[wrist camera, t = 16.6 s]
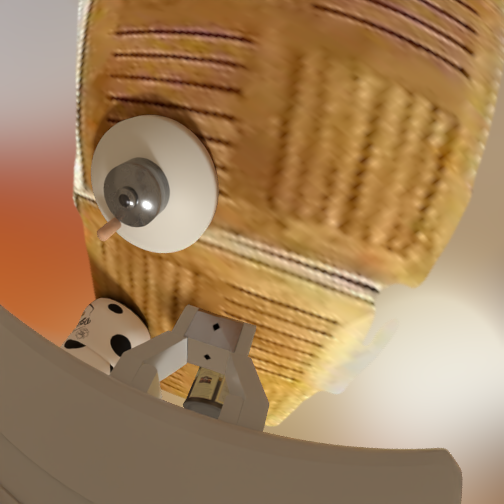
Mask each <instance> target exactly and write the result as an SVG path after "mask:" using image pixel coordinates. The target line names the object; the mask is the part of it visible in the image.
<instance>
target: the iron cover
mask: <svg viewBox="0 0 504 504" xmlns="http://www.w3.org/2000/svg"><path fill="white" fill-rule="evenodd" d="M104 197H105V201H106V204H107V206H108V208H109V210H110V211H111V213H112V214H113V215H114V216H115V217H116V218H117V219H118V220H119V221H120V222H122V223H124V224H125V225H128V226H131V227H143V226H146V225H147V224H149V223H150V222H151V221H152V220H153V219H154V218H155V217H157V216H158V215H159V214H160V213H161V212H162V211H163V210H164V209H165V208H166V206H167V204H168V201H169V197H170V188H169V183H168V180H167V178H166V176H165V174H164V172H163V171H162V169H161V168H160V167H159V166H158V165H157V164H155V163H154V162H153V161H151V160H149V159H146V158H141V157H136V158H132V159H130V160H128V161H126V162H124V163H122V164H120V165H118V166H116V167H115V168H113V169H112V170H111V171H110V172H109V173H108V174H107V176H106V178H105V181H104Z"/></svg>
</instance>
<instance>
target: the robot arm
mask: <svg viewBox="0 0 504 504" xmlns="http://www.w3.org/2000/svg"><path fill="white" fill-rule="evenodd" d="M255 330H256V326H255V325H252V324H248V323H244V322H242V321H239V320H235V319H232V318H228V317H225V316H221V315H218V314H215V313H212V312H209V311H206V310H203V309H201V308H197V307H195V306H192V305H189V304H188V305H187V306H186V307H185V309H184V310H183V312H182V314H181V316H180V317H179V319H178V321H177V323H176V324H175V326H174V328H173V330H172V332H171V331H166V332H164V333H162V334H160V335H158V336H156V337H154V338H152V339H150V340H148V341H146V342H144V343H142V344H140V345H138V346H136V347H134V348H132V349H130V350H128V351H125V352H123V354H122V356H121V357H120V359H119V360H118V362H117V364H116V365H115V367H114V368H113V370H112V372H111V373H110V375H107V374H105V373H104V372H102V371H100V370H98V369H96V368H94V367H92V366H91V365H89V364H87V363H85V362H83V361H82V360H80V359H78V358H76V357H75V356H73V355H71V354H70V353H68V352H66V351H65V350H63V349H62V348H60V347H58V346H56V345H55V344H54V343H52V342H51V341H49V340H47V339H46V338H45V337H43V336H42V335H40V334H39V333H37V332H36V331H34V330H33V329H32V328H30V327H29V326H27V325H26V324H25V323H23V322H22V321H20V320H19V319H18V318H17V317H15V316H14V315H13V314H11V313H10V312H9V311H7V310H6V309H5V308H4V307H2V306H1V305H0V504H461V498H462V472H461V469H460V467H459V465H458V464H457V462H456V461H455V459H454V458H453V457H452V455H451V454H450V452H449V451H448V450H447V449H444V448H431V449H380V448H364V447H351V446H342V445H333V444H325V443H318V442H312V441H306V440H300V439H294V438H289V437H284V436H279V435H274V434H270V433H266V432H263V428H264V425H265V420H266V416H267V412H268V408H269V402H268V399H267V397H266V395H265V392H264V390H263V387H262V385H261V382H260V380H259V377H258V375H257V372H256V369H255V367H254V364H253V362H252V359H251V358H249V357H248V354H249V351H250V347H251V344H252V340H253V337H254V334H255ZM187 362H188V363H191V364H194V365H197V366H200V367H203V368H206V369H209V370H212V371H215V372H218V373H221V374H224V375H225V379H226V383H227V387H228V390H229V395H227V396H226V398H225V401H224V404H223V406H222V409H221V412H220V415H219V417H218V419H214V418H211V417H208V416H205V415H202V414H199V413H196V412H193V411H191V410H188V409H185V408H182V407H180V406H177V405H174V404H172V403H169V402H167V401H164V400H161V398H162V394H161V389H160V383H159V382H160V381H161V380H163V379H164V378H166V377H167V376H169V375H170V374H172V373H173V372H175V371H176V370H178V369H179V368H181V367H182V366H184V365H185V364H187Z"/></svg>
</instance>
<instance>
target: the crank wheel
mask: <svg viewBox="0 0 504 504" xmlns="http://www.w3.org/2000/svg"><path fill="white" fill-rule="evenodd" d="M136 157H141V158H146V159H149V160H151V161H153V162H154V163H155V164H157V165H158V166H159V167H160V168H161V169H162V171H163V172H164V174H165V176H166V178H167V180H168V183H169V188H170V197H169V201H168V204H167V206H166V208H165V209H164V210H163V211H162V212H161V213H160V214H159V215H158V216H157V217H155V218H154V219H153V220H152V221H151V222H150V223H149V224H147V225H146V226H143V227H131V226H128V225H125V224H124V223H122V222H120V221H119V220H118V219H117V218H116V217H115V216H114V215H113V214H112V213H111V211H110V210H109V208H108V206H107V204H106V201H105V197H104V181H105V178H106V176H107V174H108V173H109V172H110V171H111V170H112V169H113V168H115V167H116V166H118V165H120V164H122V163H124V162H126V161H128V160H130V159H132V158H136ZM91 181H92V188H93V193H94V196H95V199H96V202H97V204H98V206H99V209H100V210H101V212H102V214H103V216H104V217H105V219H106V220H107V222H108V223H106V224H105V225H104V226H103V227H101V228H100V229H99V230H98V231H97V236H98V238H99V239H100V240H102V241H106V240H107V239H108V238H109V237H110V236H111V235H113V234H114V233H115V232H117V233H118V234H119V235H120V236H122V237H123V238H124V239H125V240H127V241H128V242H130V243H131V244H133V245H135V246H137V247H139V248H142V249H144V250H148V251H151V252H157V253H170V252H176V251H180V250H182V249H185V248H187V247H189V246H190V245H192V244H193V243H194V242H195V241H197V240H198V239H199V238H200V236H201V235H202V234H203V233H204V231H205V230H206V229H207V227H208V226H209V224H210V223H211V221H212V219H213V217H214V214H215V212H216V208H217V204H218V196H219V187H218V178H217V173H216V170H215V166H214V163H213V161H212V159H211V157H210V154H209V153H208V151H207V149H206V148H205V146H204V145H203V144H202V142H201V141H200V140H199V138H198V137H197V136H196V135H195V134H194V133H193V132H192V131H191V130H189V129H188V128H187V127H185V126H184V125H182V124H181V123H179V122H177V121H175V120H173V119H170V118H168V117H164V116H159V115H140V116H137V117H133V118H129V119H126V120H123V121H121V122H119V123H117V124H116V125H114V126H113V127H111V128H110V129H109V130H108V131H107V132H106V133H105V134H104V136H103V137H102V138H101V140H100V141H99V143H98V145H97V147H96V150H95V152H94V156H93V160H92V166H91Z"/></svg>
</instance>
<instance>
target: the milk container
mask: <svg viewBox="0 0 504 504" xmlns="http://www.w3.org/2000/svg"><path fill="white" fill-rule="evenodd" d="M148 340H150V333H149V331H148V328H147V326H146V325H145V323H144V322H143V321H142V319H141V318H140V317H139V316H138V315H137V314H136V313H135V312H134V311H133V310H132V309H131V308H129V307H127V306H126V305H124V304H123V303H121V302H119V301H116V300H114V299H111V298H99V299H96V300H95V301H93V302H92V303H91V304H89V305H88V306H87V308H86V309H85V310H84V312H83V314H82V316H81V319H80V321H79V323H78V325H77V327H76V328H75V329H74V330H73V332H72V333H71V334H70V335H69V336H68V338H67V340H66V341H65V342H64V343H63V344H62V346H61V347H60V348H62V349H63V350H65V351H66V352H68V353H70V354H71V355H73V356H75V357H76V358H78V359H80V360H82V361H83V362H85V363H87V364H89V365H91V366H92V367H94V368H96V369H98V370H100V371H102V372H104V373H105V374H107V375H110V373H111V372H112V370H113V368H114V367H115V365H116V364H117V362H118V360H119V359H120V357H121V356H122V354H123V352H125V351H128V350H130V349H132V348H134V347H136V346H138V345H140V344H142V343H144V342H146V341H148Z"/></svg>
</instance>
